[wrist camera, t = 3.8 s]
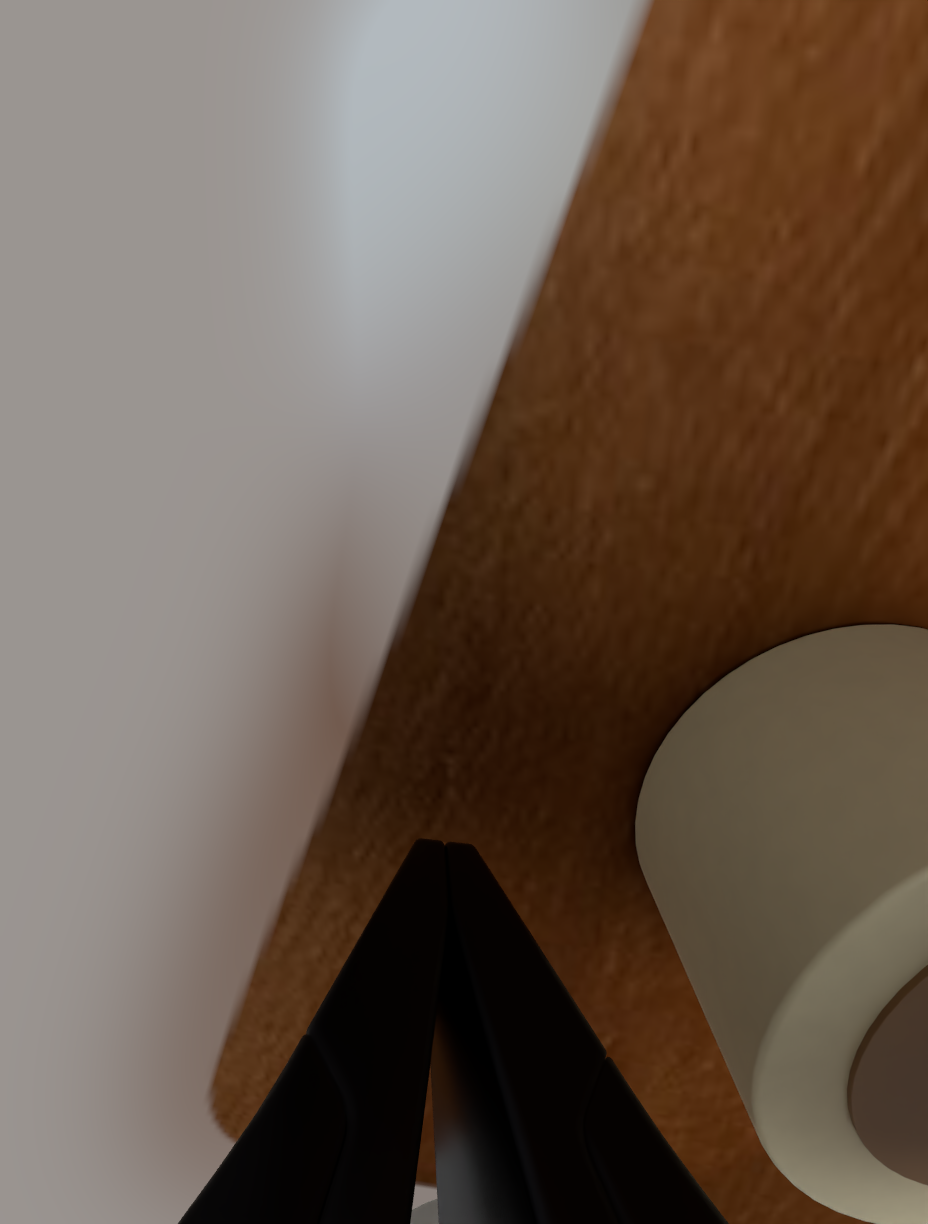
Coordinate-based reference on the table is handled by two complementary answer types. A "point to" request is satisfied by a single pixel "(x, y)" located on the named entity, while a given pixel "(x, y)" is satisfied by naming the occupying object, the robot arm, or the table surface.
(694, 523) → the table surface
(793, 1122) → the tape
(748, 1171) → the table surface
